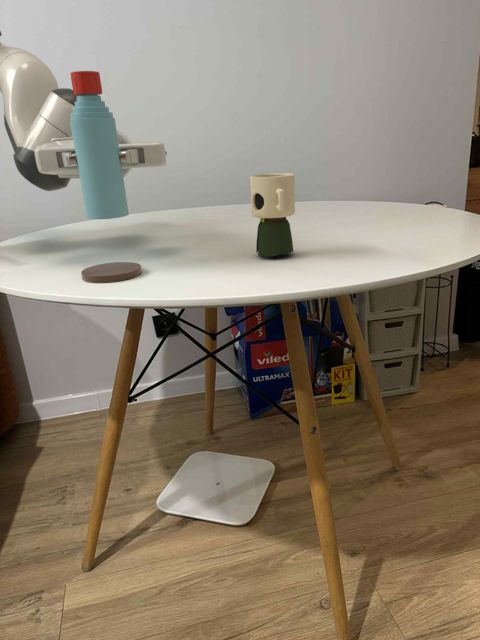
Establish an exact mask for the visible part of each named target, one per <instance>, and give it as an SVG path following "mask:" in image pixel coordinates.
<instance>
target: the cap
mask: <svg viewBox="0 0 480 640" xmlns="http://www.w3.org/2000/svg"><path fill="white" fill-rule="evenodd" d="M69 74H70V80H71V87H72V90H73V92H74V95H79V94H90V93H92V94H98V95H99V96H101V95H102V94H103V88H102V82H101V76H100V71H94V70H79V71H76V70H75V71H71V72H70V73H69Z"/></svg>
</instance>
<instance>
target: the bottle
mask: <svg viewBox="0 0 480 640" xmlns="http://www.w3.org/2000/svg"><path fill="white" fill-rule="evenodd" d="M77 101H78V102H75V108H72V109H73V114H70V116H71V120H70V125H71V131H72V136H73V142H74V147H75V153H76V159H77V164H78V170H79V175H80V178H79V180H80V186H81V192H82V197H83V198H82V199H83V202H84V209H85V215H86V218H87V219H89V220H111V219H119V218H124V217H127V216H129V214H130V213H129V207H128V200H127V192H126V185H125V177H124V178H123V171H122V164H121V163H120V156H119V152H120V151H119V144H118V137H117V130H118V129H117V125H116V123H117V122H116V118H115V117H114V114H113V112H110V108H109V106H106V102H105V100H102V96H101V95H98V94H92V93H90V94H79V96H77Z"/></svg>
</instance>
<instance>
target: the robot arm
mask: <svg viewBox="0 0 480 640" xmlns="http://www.w3.org/2000/svg"><path fill="white" fill-rule="evenodd" d="M2 35H3V34H2V32H1V30H0V37H1V36H2ZM0 93H1V94H2V101H3V123H4V128H5V131H6V134H7V136H8V139H9V141H10V144H11V147H12V149H13V152H14V153H13V154H12V157H13V161H14V165H15V167H16V169H17V171H18V173H19V174H20V175H21V176H22V177H23V178H24V179H25V180H26V181H27V182H29V183H30V184H32V185H33V186H35V187H36V188H39V189H41V190H43V191H46V192H53V191H57V190H62V189H65V188H67V187H68V185H69V183H70V181H71V179H80V175H79V170H78V164H77V159H76V153H75V147H74V142H73V136H72V131H71V125H70V120H71V116H70V114H73V109H72V108H75V102H78V101H77V96H79V95H74V92H73V88H66V87H65V88H63V87H62V88H60V87H59V85H58V81H57V79H56V76H55V75H54V73H53V72H52V70H51V69H50V68H49V66H47V64H46V63H45V62H44V61H42V59H40V58H39V57H37V55H35V54H33V53H31V52H30V51H28V50H25V49H22V48H19V47H13V46H7V45H4V44H3V43H2V42H1V41H0ZM116 130H117V137H118V144H119V151H120V152H119V156H120V163H121V164H122V171H123V178H124V179H125V177H126V176H127V175H128V174H129V173H130V172H131V171H132V170H133V169H140V168H141V169H143V168H155V167H156V168H158V167H165V166H167V156H168V151H167V150H166V148H165V144H164V142H161V141H160V142H159V141H153V142H152V141H151V142H132V140H131V139H130V137H128V135H126V134H125V133H124V132H122V131H120V130H119V129H116Z"/></svg>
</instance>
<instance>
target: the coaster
mask: <svg viewBox="0 0 480 640" xmlns="http://www.w3.org/2000/svg"><path fill="white" fill-rule="evenodd" d="M142 272H143V269H142V265H141V264H140V263H137V262H133V261H114V262H106V263H99V264H95V265H91V266H88V267H86V268H83V269H82V270H81V272H80V274H81V279H82V280H83V281H84V282H87V283H94V284H104V283H105V284H106V283H117V282H122V281H126V280H131V279H134V278H137V277H138V276H141V274H143V273H142Z"/></svg>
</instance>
